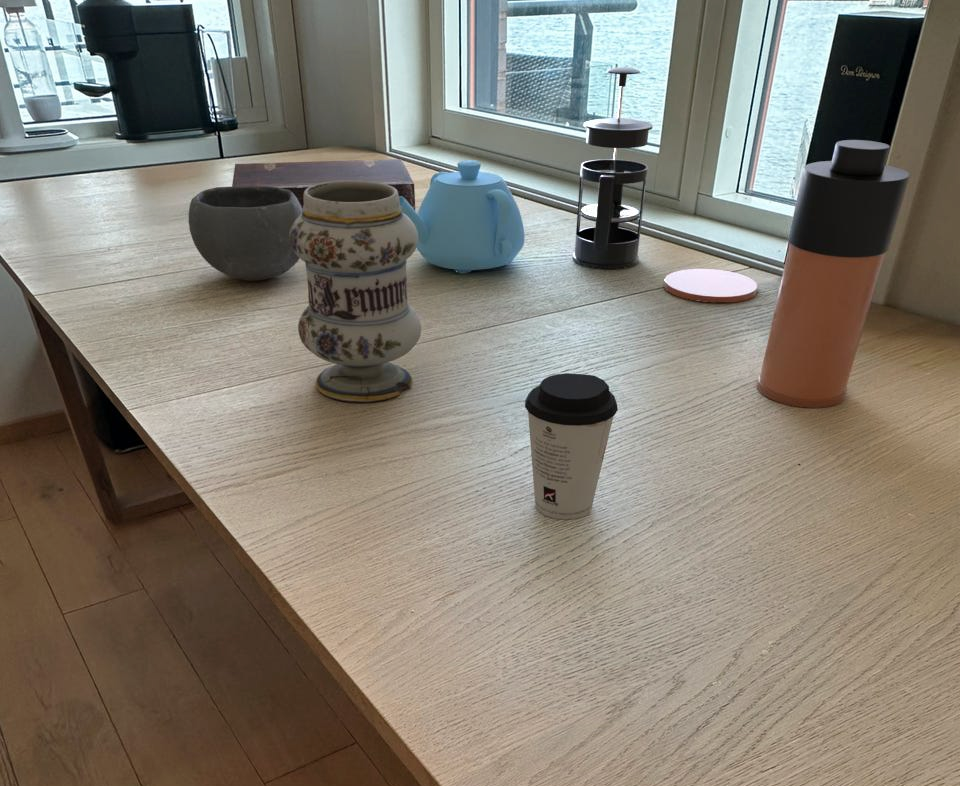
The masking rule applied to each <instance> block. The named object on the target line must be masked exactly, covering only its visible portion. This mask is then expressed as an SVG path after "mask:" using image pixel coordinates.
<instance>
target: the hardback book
mask: <svg viewBox="0 0 960 786" xmlns="http://www.w3.org/2000/svg"><path fill="white" fill-rule="evenodd" d="M340 180H354V181H369V182H377V183H383V184H387V185H390V186H392V187H394V188H395V189H396V190H397V191H398V195H399V196H403V197H404V198H405V199H406V201H407V202H408V203H409V204H410V205H411V206H412V208H413V209H414V210H415V211H416V193H415V183H414V181H413V179H412V177H411V175H410V172H409V171H408V169H407V168H406V165H405V163H404V162H403V160H402V158H396V159H393V158H391V159H360V160H358V159H357V160H324V161H289V162H287V161H285V162H252V163H234V169H233V176H232V184H231V186H270V187H278V188H282V189H287V190H290V191H291V192H292V193H293V194H294V195H295V196H296V198H297V200H298V201H299V203H300V205H301V207H302V210H303V206H304V191H305V190H306V189H307V188H308V187H311V186H313V185H316V184H320V183H325V182H331V181H340Z"/></svg>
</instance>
